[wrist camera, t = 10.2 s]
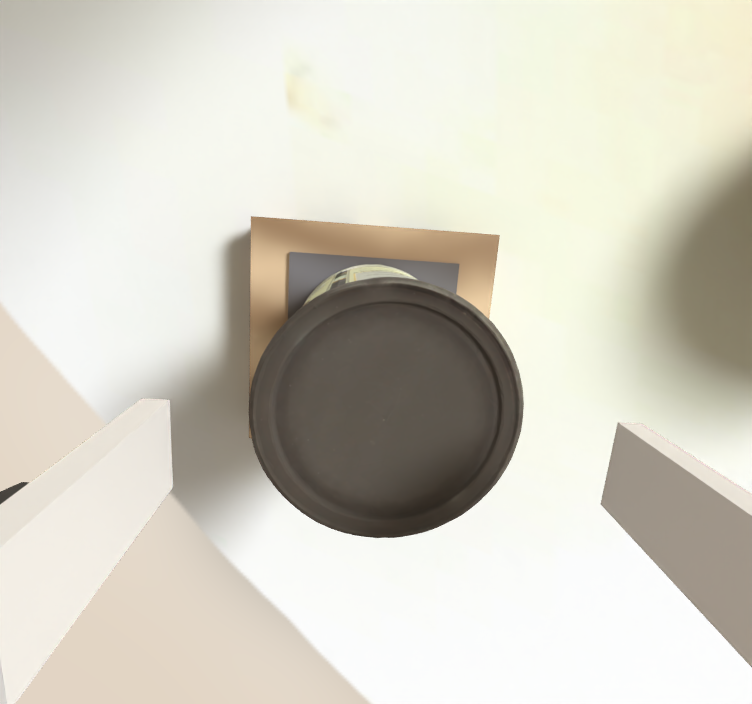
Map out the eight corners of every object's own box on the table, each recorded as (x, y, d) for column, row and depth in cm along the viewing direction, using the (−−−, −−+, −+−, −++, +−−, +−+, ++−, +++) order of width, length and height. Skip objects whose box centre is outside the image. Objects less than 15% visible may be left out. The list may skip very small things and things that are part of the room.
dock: (260, 219, 32) (250, 216, 28) (486, 236, 33) (501, 235, 30) (257, 422, 35) (248, 439, 32) (462, 431, 36) (473, 449, 33)
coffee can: (432, 422, 32) (492, 553, 18) (286, 402, 31) (235, 524, 18) (462, 276, 30) (554, 302, 16) (305, 250, 29) (263, 255, 15)
